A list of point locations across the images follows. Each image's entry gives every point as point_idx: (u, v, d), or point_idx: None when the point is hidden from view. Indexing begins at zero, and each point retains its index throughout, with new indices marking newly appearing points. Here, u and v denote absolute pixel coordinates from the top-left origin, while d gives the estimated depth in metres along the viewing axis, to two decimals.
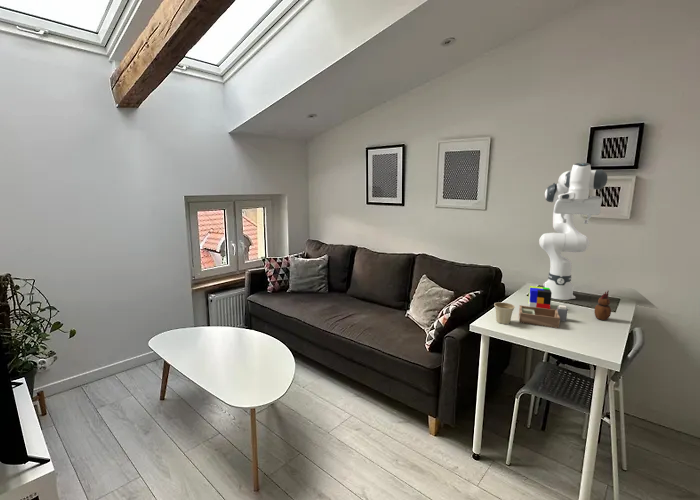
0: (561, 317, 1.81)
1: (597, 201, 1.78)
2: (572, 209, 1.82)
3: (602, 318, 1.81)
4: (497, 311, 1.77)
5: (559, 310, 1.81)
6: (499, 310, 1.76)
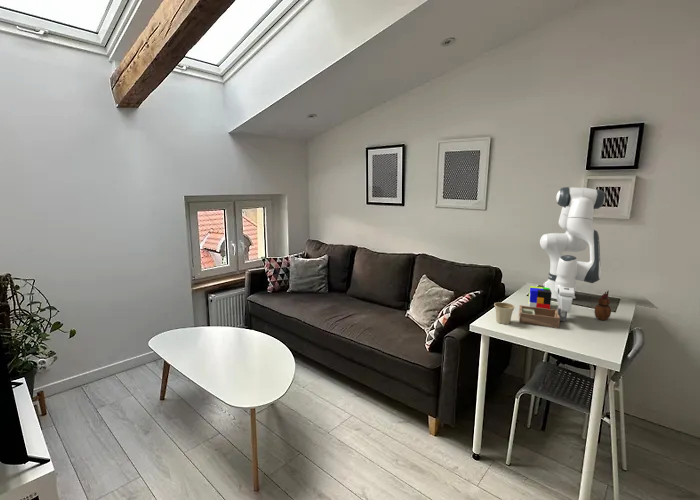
0: (561, 317, 1.81)
1: None
2: None
3: (602, 318, 1.81)
4: (497, 311, 1.77)
5: (559, 310, 1.81)
6: (499, 310, 1.76)
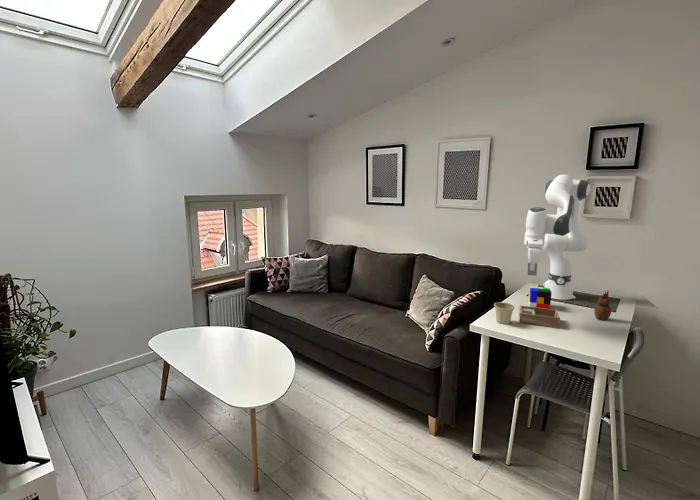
0: (531, 272, 1.76)
1: None
2: None
3: (602, 318, 1.81)
4: (497, 311, 1.77)
5: (529, 264, 1.76)
6: (499, 310, 1.76)
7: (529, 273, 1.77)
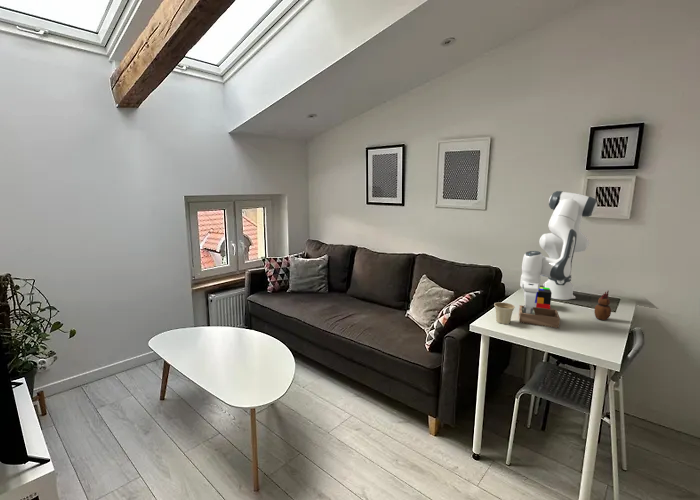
0: None
1: None
2: None
3: (602, 318, 1.81)
4: (497, 311, 1.77)
5: (525, 309, 1.80)
6: (499, 310, 1.76)
7: None
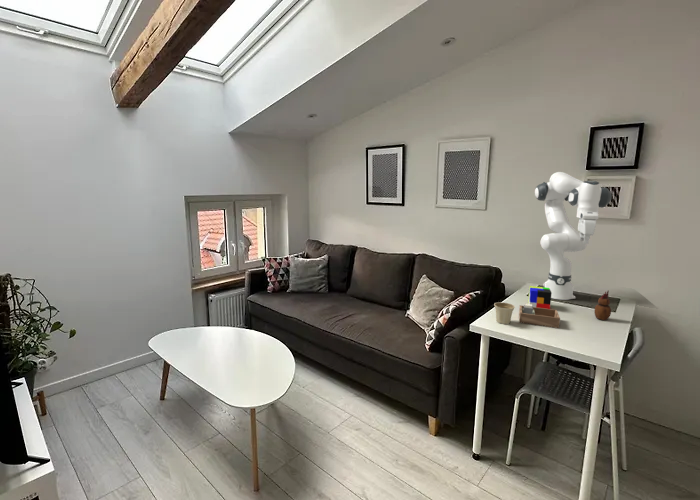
0: None
1: None
2: None
3: (602, 318, 1.81)
4: (497, 311, 1.77)
5: (525, 309, 1.80)
6: (499, 310, 1.76)
7: None
